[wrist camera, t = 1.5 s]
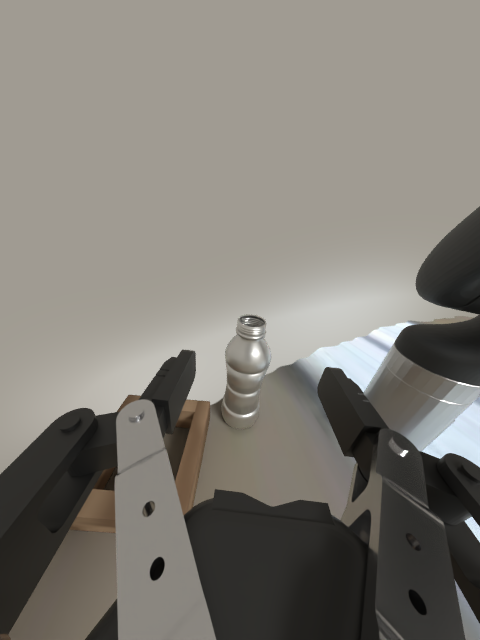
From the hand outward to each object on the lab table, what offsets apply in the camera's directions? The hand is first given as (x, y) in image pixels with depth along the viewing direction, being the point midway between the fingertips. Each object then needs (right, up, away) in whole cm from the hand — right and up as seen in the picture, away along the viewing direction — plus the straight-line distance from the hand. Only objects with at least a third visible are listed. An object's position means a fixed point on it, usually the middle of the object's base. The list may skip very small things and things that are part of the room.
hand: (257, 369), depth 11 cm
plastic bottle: (-1, -15, +21) cm, 26 cm away
